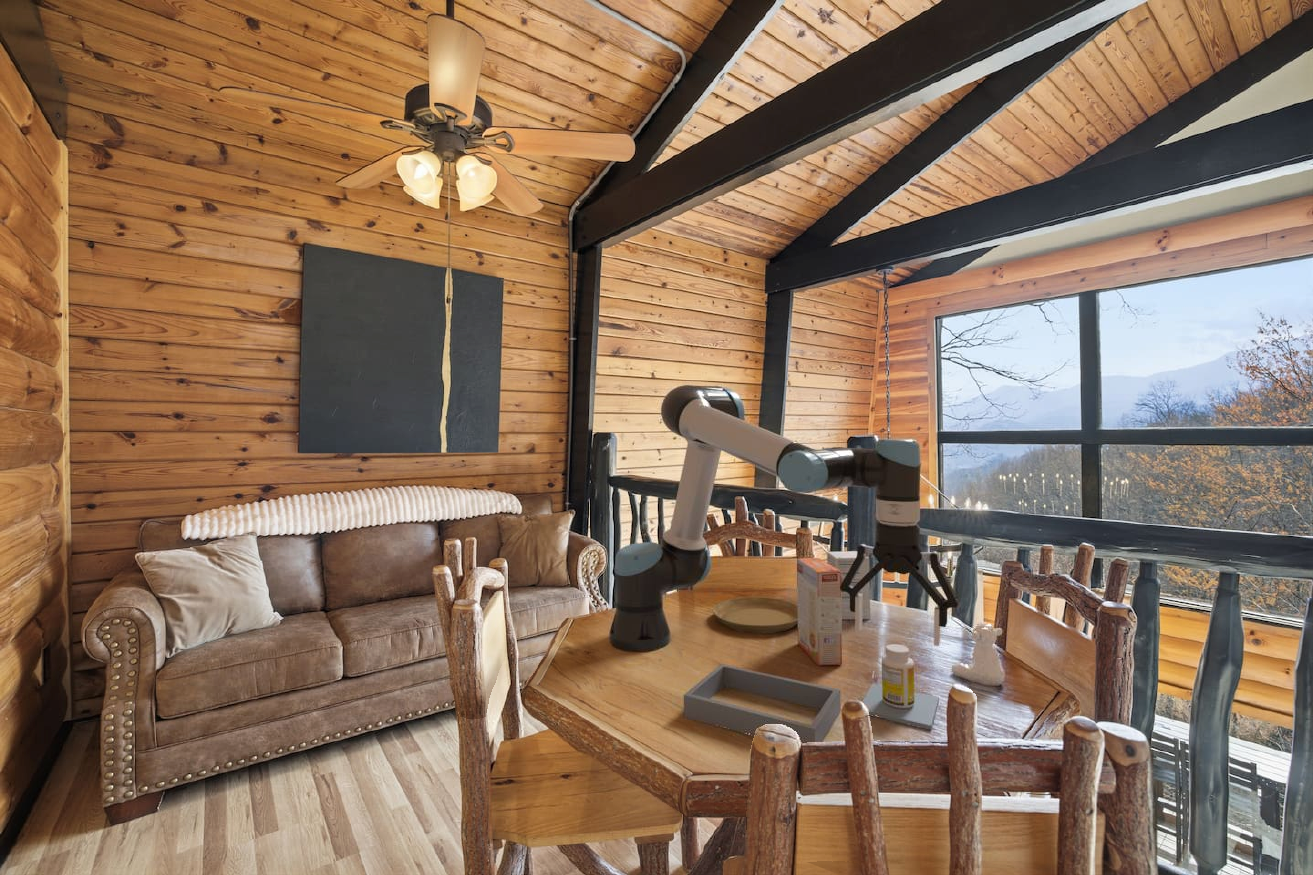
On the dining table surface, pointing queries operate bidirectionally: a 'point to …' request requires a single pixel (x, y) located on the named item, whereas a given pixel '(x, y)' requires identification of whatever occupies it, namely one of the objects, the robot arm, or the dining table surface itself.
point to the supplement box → (843, 564)
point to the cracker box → (820, 610)
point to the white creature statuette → (983, 658)
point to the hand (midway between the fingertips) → (896, 636)
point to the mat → (915, 715)
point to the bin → (766, 685)
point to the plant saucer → (757, 614)
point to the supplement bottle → (898, 677)
